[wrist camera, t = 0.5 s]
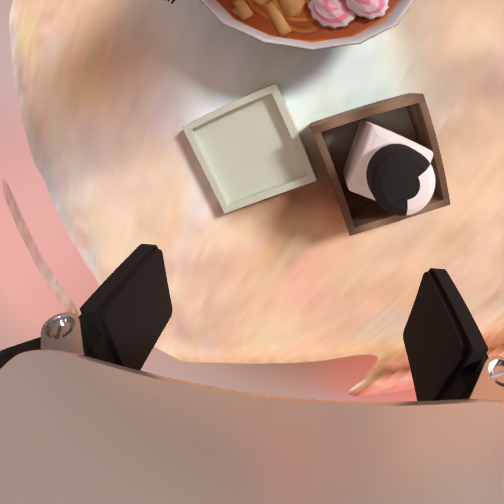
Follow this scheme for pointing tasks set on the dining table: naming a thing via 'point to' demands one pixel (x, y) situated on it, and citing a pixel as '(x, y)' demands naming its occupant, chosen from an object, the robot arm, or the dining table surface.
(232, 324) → the dining table surface
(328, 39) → the ramen bowl
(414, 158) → the medicine bottle
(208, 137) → the tray
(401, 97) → the holder
